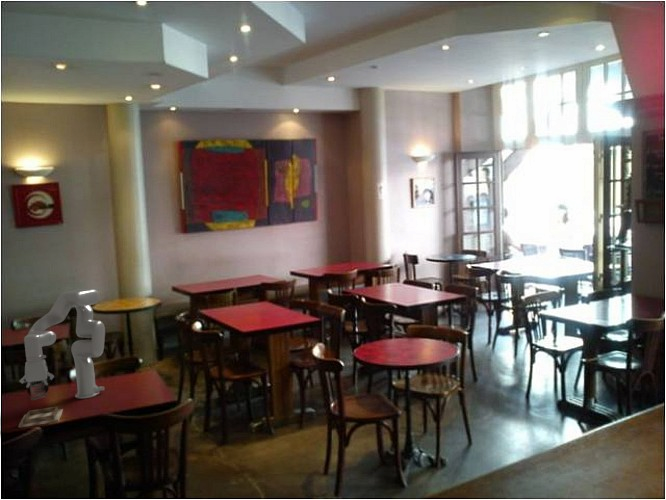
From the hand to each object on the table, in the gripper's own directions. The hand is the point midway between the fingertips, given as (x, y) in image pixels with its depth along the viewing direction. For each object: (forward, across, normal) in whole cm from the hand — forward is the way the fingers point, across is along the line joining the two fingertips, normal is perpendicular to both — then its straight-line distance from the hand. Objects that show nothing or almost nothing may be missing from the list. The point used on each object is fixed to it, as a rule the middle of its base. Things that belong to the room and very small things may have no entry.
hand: (38, 393), depth 306 cm
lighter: (+2, 0, 0) cm, 2 cm away
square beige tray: (+14, 0, 0) cm, 14 cm away
